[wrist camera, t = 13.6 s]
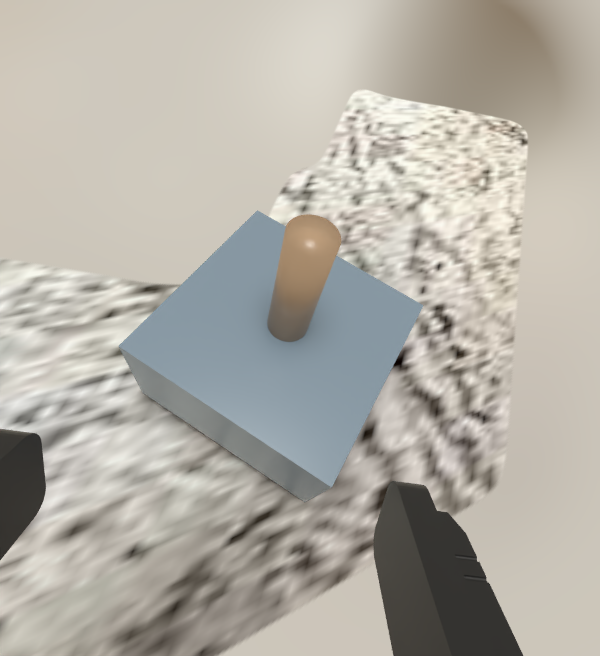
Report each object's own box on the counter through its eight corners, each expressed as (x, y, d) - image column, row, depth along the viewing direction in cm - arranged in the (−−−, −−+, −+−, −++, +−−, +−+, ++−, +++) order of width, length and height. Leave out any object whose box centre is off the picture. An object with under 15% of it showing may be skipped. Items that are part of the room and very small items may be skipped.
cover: (142, 392, 28) (69, 252, 15) (251, 272, 35) (268, 104, 22) (304, 502, 26) (389, 456, 13) (384, 352, 33) (492, 222, 20)
